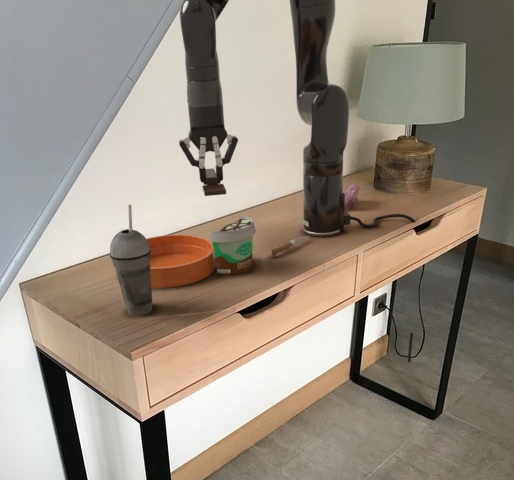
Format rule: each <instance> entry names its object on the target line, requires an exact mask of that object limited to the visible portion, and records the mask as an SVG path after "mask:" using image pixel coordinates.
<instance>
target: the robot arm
mask: <svg viewBox="0 0 514 480" xmlns="http://www.w3.org/2000/svg"><path fill="white" fill-rule="evenodd" d="M229 1H230V0H183V1H182V3H181V5H180V9H179V22H180V29H181V37H182V41H183V42H182V43H183V47H184V57H185V58H184V64H185V76H186V102H187V109H188V119H189V132H188V136H187V137H185V138H182V139H179V140H178V145H179V147H180V149H181V150H182V152H183V154H184V155H185V158H186V159H187V160H188V162H189V164H190V165H191V167H196V168H198V176H199V180H200V183H201V184H203V185H207V182H206V169H207V168H206V166H205V165H206V164H205V163H206V153H208V152H212V153H213V154H214V158H215V164H216V165H215V172H216V174H217V176H218V184H222V183H221V182H223V181H224V171H223V170H224V169H223V168H224V166H225V165H228V164H230V163H231V161H232V158H233V155H234V152H235V150H236V148H237V145H238V143H239V138H238V137H237V136H236V135H232V134H230V133H228V131H227V130H226V128H225V127H226V126H225V115H224V103H223V102H224V100H223V99H224V98H223V89H222V84H221V75H220V63H219V55H218V51H217V26H216V24H217V23H216V22H217V21H218V19H219V17H220V16H221V14H222V13H223V12H224V9H225V8H226V6H227V5H228V3H229ZM289 8H290V15H291V16H290V17H291V23H292V24H291V25H292V33H293V35H292V36H293V43H294V44H293V46H294V54H295V55H294V56H295V72H296V73H295V74H296V75H295V76H296V77H295V78H296V79H295V80H296V81H295V82H296V83H295V86H296V87H295V89H296V90H295V92H296V93H295V95H296V96H295V97H296V99H295V100H296V110H297V113H298V115H299V118H300V119H301V120H302V122H304V123H305V124H306V125H308V126H311V129H310V141H309V143H308V144H306V145H304V147H303V149H302V180H303V181H302V182H303V183H302V186H303V188H302V189H303V190H302V191H303V192H302V193H303V194H302V195H303V196H302V197H303V218H301V223H302V224H303V227H302V230H303V232H304V234H306V235H307V236H312V237H320V238H321V237H322V238H323V237H331V236H336V235H338V234H342V233H343V234H344V233H345V226H350V225H351V221H356V222H357V223H358V225H359V226H360V227H363V228H367V229H369V228H376V227H378V226H379V221H381V220H384V219H389V218H390V219H391V218H404V219H406V220H408V221H410V222H411V223H417V221H416V219H414V218H413V217H412V216H410V215H407V214H402V213H391V214H385V215H380V216H377V217H374V218H373V223H371V224H367V223H364V222H362V219H360V218H359V217H356V216H351V214H350V213H348V211H346V209H345V193H344V191H343V181H344V180H343V179H344V175H343V174H344V172H343V171H344V152H345V150H346V147H347V144H348V137H349V122H350V102H349V96H348V94H347V92H346V91H345V89H344V87H342V86H340V85H338V84H333V83H329V75H328V66H327V55H328V46H329V42H330V39H331V35H332V31H333V27H334V23H335V18H336V0H289ZM225 140H226V144H227V145H228V146H227V148H226V150H225V151H226V152H225V154H224V156H223V157H222V154H221V147H222V146H223V144H224V142H225ZM191 143H192V144H193V145H194V146H195V147H196V149H197V150H198V159H196V158H195V157H194V155H193V154H192V152H191V150H190V148H191ZM413 339H414V332H410V333H409V341H408V342H409V343H408V353H407V355H408V356H407V363H411V360H412V349H413Z"/></svg>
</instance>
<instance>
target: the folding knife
mask: <svg viewBox="0 0 514 480" xmlns="http://www.w3.org/2000/svg"><path fill="white" fill-rule="evenodd" d="M309 238H310V235H306V236H303V237H298V238H295V239H291V240H290V241H287V242H284V243H282V244H279V245H278V246H276V247H274V248H272V249H271V257H272V258H275V257H276V256H277V254H279V253H282V252H284V251H286V250H288V249H290V248H292V247H294V246H295V245H299V244H302V243H304V242H306V241H307V240H308V239H309Z"/></svg>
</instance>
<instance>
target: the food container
mask: <svg viewBox="0 0 514 480" xmlns="http://www.w3.org/2000/svg"><path fill="white" fill-rule="evenodd" d="M256 233H257V229H256V225H255V223H254V221H253V219H252V218H251V217H250V216H247V215H242V214H239V219H238V220H236V221H235V222H233V223H232V222H231V223H228V224H226V225H225V226H224V227H223V228H220V230H219V231H215V230H210V238H209V240H210V242H212V243H213V250H214V256H215V263H216V268H215V270H216V275H217V276H227V277H228V276H229V277H231V276H237V275H238V276H239V275H242V274H245V273H248V272H249V271H250V270H251V269H252V268H253V246H254V244H253V242H254V241H253V239H254V235H255V234H256Z"/></svg>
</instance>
